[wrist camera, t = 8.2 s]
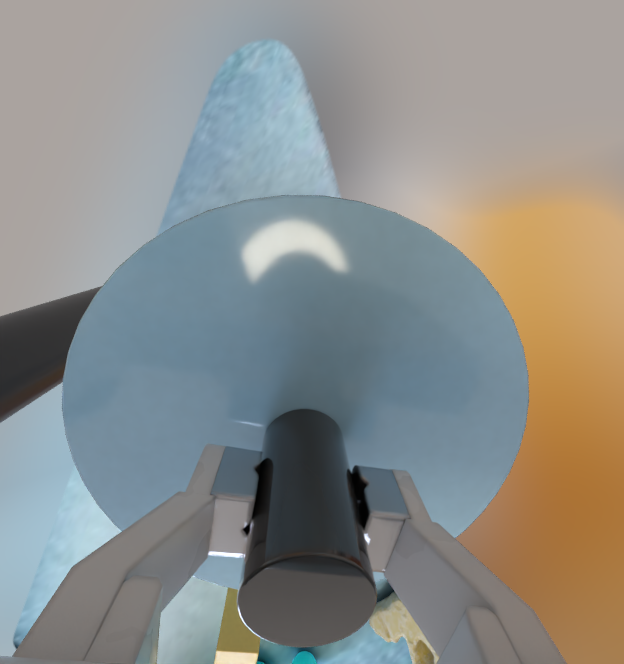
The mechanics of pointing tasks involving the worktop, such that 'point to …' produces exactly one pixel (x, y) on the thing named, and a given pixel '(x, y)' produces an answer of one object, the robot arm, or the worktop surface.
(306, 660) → the donuts
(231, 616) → the butter
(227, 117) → the worktop surface
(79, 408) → the pot lid
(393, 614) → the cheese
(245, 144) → the worktop surface
